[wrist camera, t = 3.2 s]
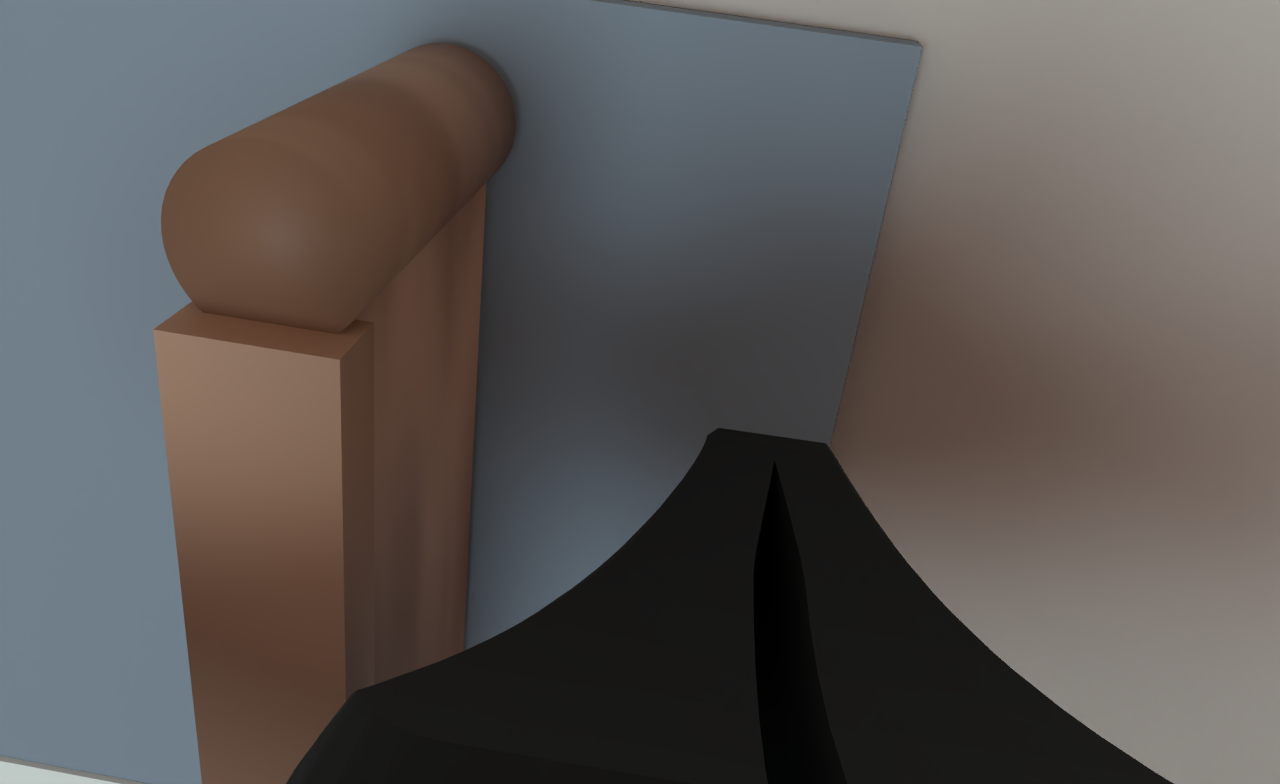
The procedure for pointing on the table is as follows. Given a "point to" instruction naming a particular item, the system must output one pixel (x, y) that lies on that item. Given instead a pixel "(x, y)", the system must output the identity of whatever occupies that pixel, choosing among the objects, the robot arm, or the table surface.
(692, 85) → the board
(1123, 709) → the table surface
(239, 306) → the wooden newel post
